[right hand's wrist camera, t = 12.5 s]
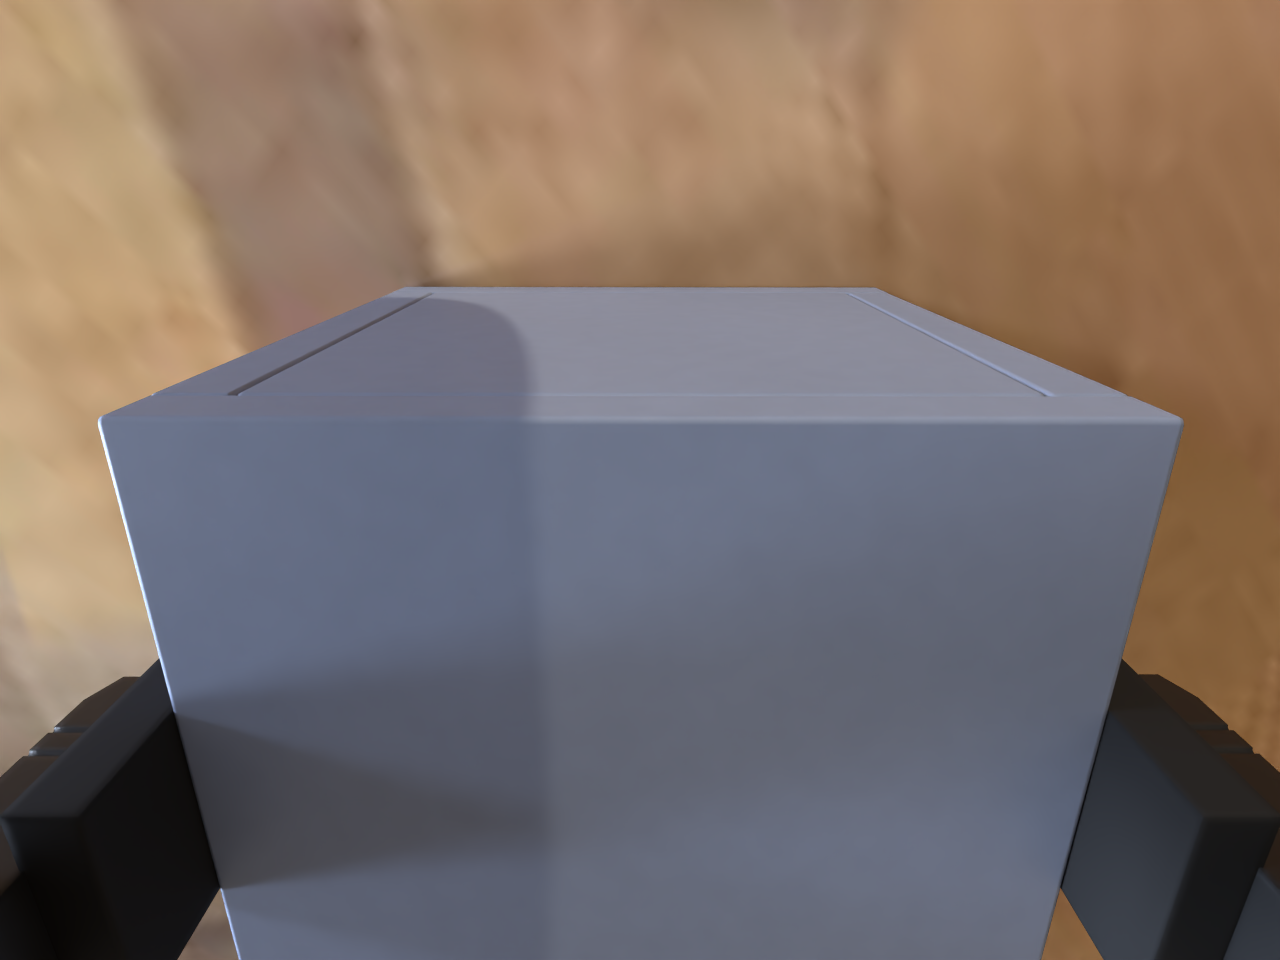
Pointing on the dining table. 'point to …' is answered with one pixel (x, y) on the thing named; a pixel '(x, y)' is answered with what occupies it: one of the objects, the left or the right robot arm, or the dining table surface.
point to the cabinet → (640, 623)
